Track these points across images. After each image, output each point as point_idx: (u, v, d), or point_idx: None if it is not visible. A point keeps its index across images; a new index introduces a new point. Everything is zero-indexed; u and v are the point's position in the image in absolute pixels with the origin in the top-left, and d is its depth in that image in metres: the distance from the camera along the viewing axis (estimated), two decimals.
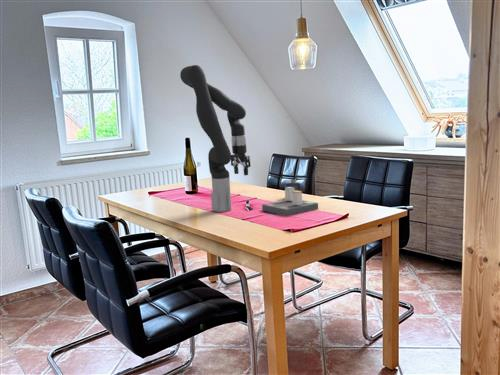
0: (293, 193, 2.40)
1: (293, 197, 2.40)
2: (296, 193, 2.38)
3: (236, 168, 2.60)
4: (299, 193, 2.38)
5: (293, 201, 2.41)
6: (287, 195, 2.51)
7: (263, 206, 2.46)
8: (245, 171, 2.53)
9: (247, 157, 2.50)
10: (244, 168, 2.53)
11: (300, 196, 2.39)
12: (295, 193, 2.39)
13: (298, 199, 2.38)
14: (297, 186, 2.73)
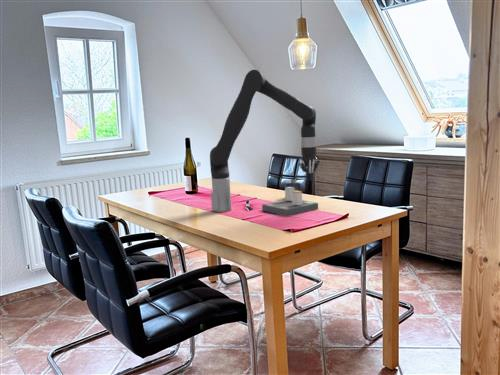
0: (293, 193, 2.40)
1: (293, 197, 2.40)
2: (296, 193, 2.38)
3: None
4: (299, 193, 2.38)
5: (293, 201, 2.41)
6: (287, 195, 2.51)
7: (263, 206, 2.46)
8: (312, 175, 2.44)
9: None
10: None
11: (300, 196, 2.39)
12: (295, 193, 2.39)
13: (298, 199, 2.38)
14: (297, 186, 2.73)
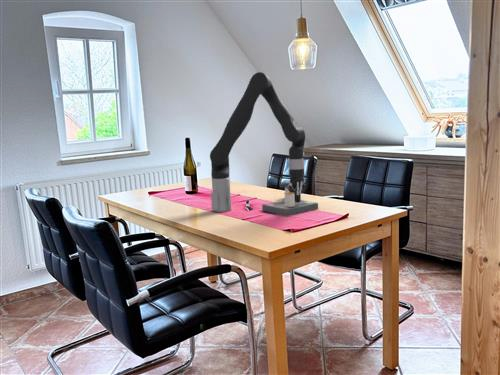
0: (285, 194, 2.37)
1: (286, 198, 2.37)
2: (288, 194, 2.35)
3: None
4: (292, 194, 2.35)
5: (285, 203, 2.38)
6: None
7: (263, 206, 2.46)
8: (300, 197, 2.41)
9: None
10: None
11: (292, 197, 2.36)
12: (287, 194, 2.36)
13: (291, 201, 2.36)
14: None
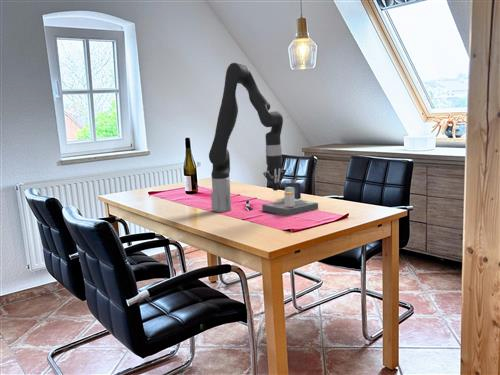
0: (285, 194, 2.37)
1: (286, 198, 2.37)
2: (288, 194, 2.35)
3: None
4: (291, 194, 2.35)
5: (285, 203, 2.38)
6: None
7: (263, 206, 2.46)
8: (278, 185, 2.31)
9: None
10: (276, 182, 2.31)
11: (292, 197, 2.36)
12: (287, 194, 2.36)
13: (291, 201, 2.36)
14: (297, 186, 2.73)
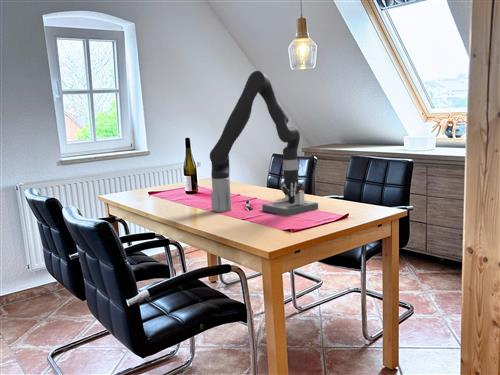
0: None
1: (296, 196, 2.41)
2: (298, 193, 2.39)
3: None
4: (301, 193, 2.39)
5: (295, 201, 2.42)
6: None
7: (263, 206, 2.46)
8: (294, 199, 2.38)
9: None
10: None
11: (302, 195, 2.40)
12: None
13: (300, 199, 2.39)
14: None
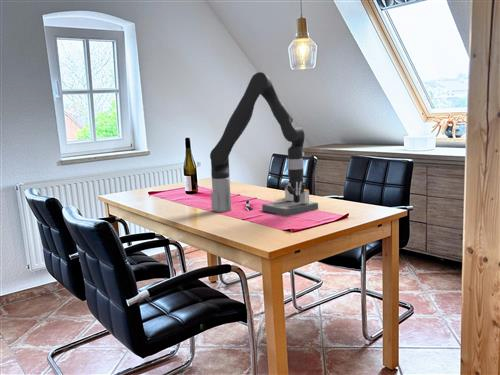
0: None
1: (300, 195, 2.43)
2: (303, 192, 2.41)
3: None
4: (306, 192, 2.41)
5: (300, 200, 2.44)
6: (287, 195, 2.51)
7: (263, 206, 2.46)
8: (299, 198, 2.40)
9: None
10: None
11: (307, 194, 2.42)
12: None
13: (305, 198, 2.41)
14: None
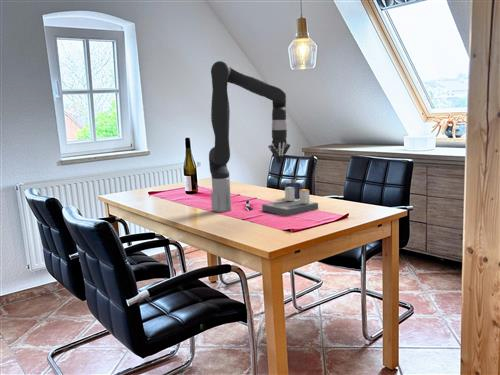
0: (300, 192, 2.43)
1: (301, 195, 2.43)
2: (303, 192, 2.41)
3: None
4: (306, 192, 2.41)
5: (300, 200, 2.44)
6: (287, 195, 2.51)
7: (263, 206, 2.46)
8: (281, 158, 2.46)
9: None
10: None
11: (307, 194, 2.42)
12: (302, 192, 2.42)
13: (306, 197, 2.41)
14: (297, 186, 2.73)
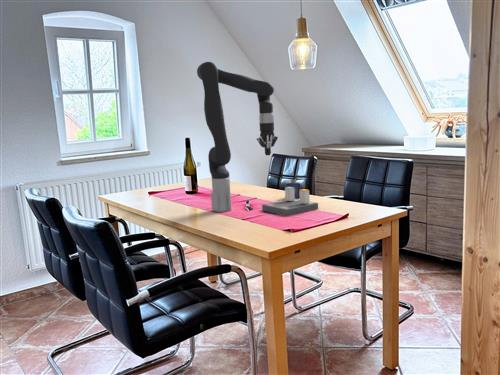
0: (300, 192, 2.43)
1: (301, 195, 2.43)
2: (303, 192, 2.41)
3: None
4: (306, 192, 2.41)
5: (300, 200, 2.44)
6: (287, 195, 2.51)
7: (263, 206, 2.46)
8: (270, 151, 2.54)
9: None
10: None
11: (307, 194, 2.42)
12: (302, 192, 2.42)
13: (306, 197, 2.41)
14: (297, 186, 2.73)
